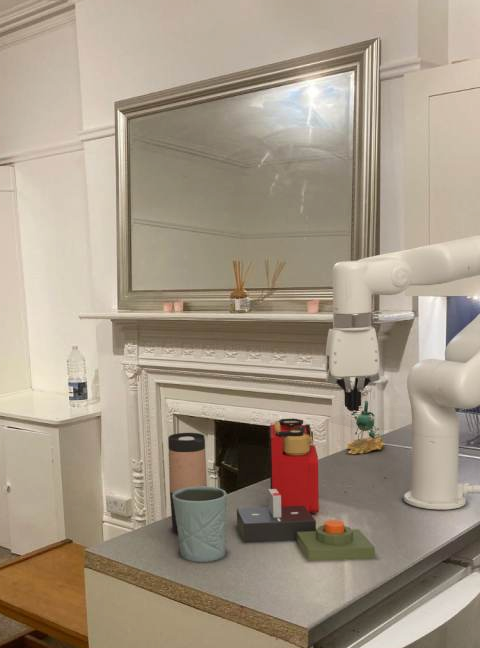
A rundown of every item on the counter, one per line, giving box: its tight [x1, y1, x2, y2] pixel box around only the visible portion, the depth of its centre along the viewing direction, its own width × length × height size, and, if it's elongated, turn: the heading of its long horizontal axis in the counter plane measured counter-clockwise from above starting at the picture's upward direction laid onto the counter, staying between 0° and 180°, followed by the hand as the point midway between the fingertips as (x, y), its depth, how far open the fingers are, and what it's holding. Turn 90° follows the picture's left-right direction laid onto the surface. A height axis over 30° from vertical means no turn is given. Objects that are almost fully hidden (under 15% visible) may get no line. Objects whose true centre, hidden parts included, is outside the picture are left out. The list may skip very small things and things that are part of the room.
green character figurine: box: [346, 400, 385, 455], centre depth 229 cm, size 10×18×15 cm, turn 133°
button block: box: [296, 524, 376, 562], centre depth 153 cm, size 12×10×4 cm
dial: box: [267, 488, 281, 518], centre depth 164 cm, size 5×2×5 cm, turn 179°
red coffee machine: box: [267, 417, 320, 514], centre depth 179 cm, size 16×10×20 cm, turn 168°
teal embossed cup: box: [172, 486, 228, 563], centre depth 154 cm, size 10×10×12 cm
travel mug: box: [167, 432, 208, 535], centre depth 168 cm, size 8×8×20 cm
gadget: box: [236, 506, 317, 544], centre depth 164 cm, size 14×10×4 cm
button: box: [323, 519, 345, 534], centre depth 153 cm, size 4×4×2 cm
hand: (352, 409), depth 169 cm, fingers closed
